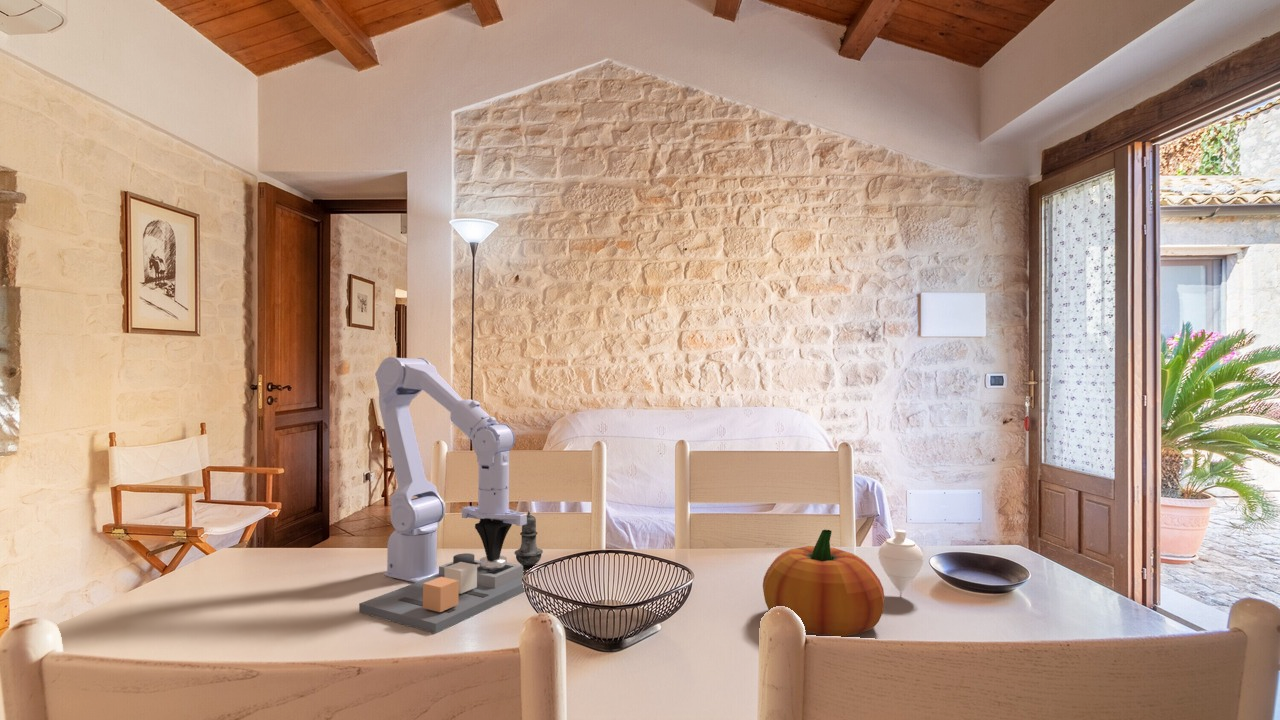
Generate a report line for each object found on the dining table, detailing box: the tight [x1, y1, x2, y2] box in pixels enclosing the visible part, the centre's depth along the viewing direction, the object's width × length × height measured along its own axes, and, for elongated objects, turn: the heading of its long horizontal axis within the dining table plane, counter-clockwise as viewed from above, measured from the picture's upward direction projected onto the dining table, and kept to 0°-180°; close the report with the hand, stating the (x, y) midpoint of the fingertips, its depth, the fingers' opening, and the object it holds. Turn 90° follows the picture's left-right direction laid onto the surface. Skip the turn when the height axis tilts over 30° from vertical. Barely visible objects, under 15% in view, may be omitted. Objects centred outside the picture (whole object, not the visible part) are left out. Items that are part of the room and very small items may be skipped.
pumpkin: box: [762, 529, 885, 637], centre depth 104 cm, size 19×19×15 cm
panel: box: [358, 559, 525, 634], centre depth 114 cm, size 18×26×4 cm
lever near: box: [423, 577, 459, 612], centre depth 105 cm, size 4×4×4 cm
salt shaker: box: [513, 511, 544, 574], centre depth 132 cm, size 6×6×12 cm
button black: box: [452, 552, 475, 564], centre depth 124 cm, size 4×4×1 cm
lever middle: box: [444, 562, 477, 594], centre depth 114 cm, size 4×4×4 cm
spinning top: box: [878, 529, 924, 597], centre depth 116 cm, size 8×8×12 cm
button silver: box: [479, 555, 508, 571], centre depth 121 cm, size 5×5×2 cm
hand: (493, 559), depth 121 cm, fingers closed
